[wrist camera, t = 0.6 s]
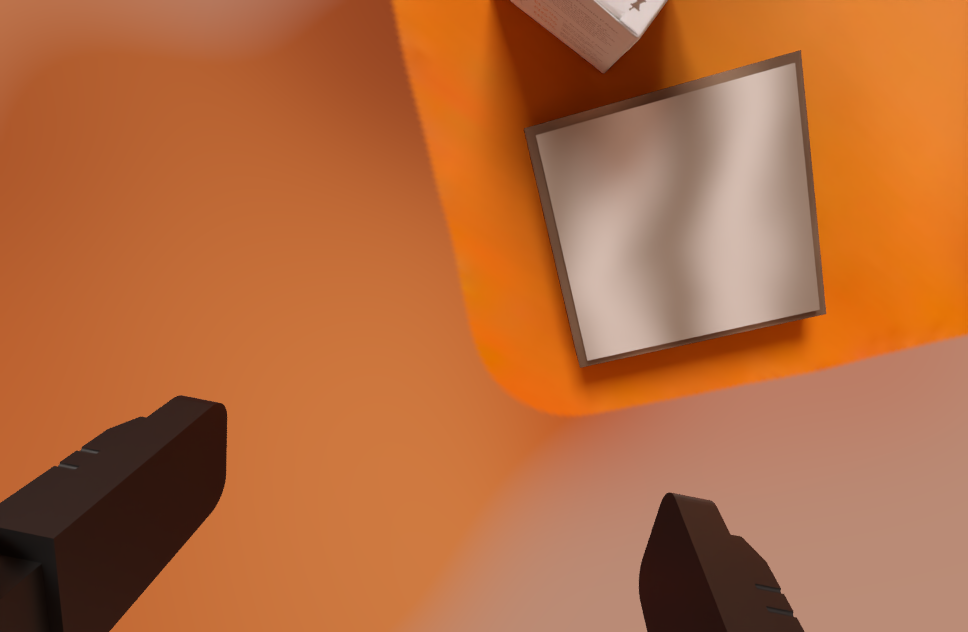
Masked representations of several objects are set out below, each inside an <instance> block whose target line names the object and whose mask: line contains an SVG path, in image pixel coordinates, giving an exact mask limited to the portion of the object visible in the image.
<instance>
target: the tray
mask: <svg viewBox="0 0 968 632" xmlns="http://www.w3.org/2000/svg"><path fill="white" fill-rule="evenodd" d="M524 132H525V136H526V140H527V145H528V149H529V153H530V158H531V162H532V166H533V170H534V175H535V179H536V183H537V188H538V192H539V196H540V200H541V205H542V209H543V213H544V217H545V222H546V226H547V230H548V235H549V239H550V243H551V247H552V252H553V256H554V260H555V264H556V269H557V273H558V277H559V282H560V286H561V290H562V294H563V299H564V303H565V307H566V311H567V316H568V320H569V324H570V329H571V333H572V337H573V341H574V346H575V350H576V354H577V358H578V361H579V365H580V368H581V367H585V366H590V365H595V364H599V363H604V362H608V361H613V360H617V359H622V358H627V357H631V356H636V355H640V354H645V353H649V352H654V351H659V350H663V349H668V348H672V347H677V346H681V345H686V344H691V343H695V342H700V341H704V340H709V339H713V338H718V337H723V336H727V335H732V334H736V333H741V332H745V331H750V330H755V329H759V328H764V327H768V326H773V325H777V324H782V323H787V322H791V321H796V320H800V319H805V318H809V317H814V316H819V315H823V314H826V307H825V297H824V286H823V276H822V265H821V255H820V245H819V234H818V224H817V214H816V203H815V193H814V183H813V172H812V162H811V152H810V141H809V131H808V121H807V110H806V100H805V90H804V79H803V69H802V59H801V50H800V51H796V52H793V53H789V54H786V55H782V56H778V57H775V58H771V59H768V60H764V61H761V62H757V63H754V64H750V65H747V66H743V67H740V68H736V69H733V70H729V71H725V72H722V73H718V74H715V75H711V76H708V77H704V78H701V79H697V80H694V81H690V82H687V83H683V84H679V85H676V86H672V87H669V88H665V89H662V90H658V91H655V92H651V93H648V94H644V95H641V96H637V97H633V98H630V99H626V100H623V101H619V102H616V103H612V104H609V105H605V106H602V107H598V108H595V109H591V110H588V111H584V112H580V113H577V114H573V115H570V116H566V117H563V118H559V119H556V120H552V121H549V122H545V123H542V124H538V125H534V126H531V127H527V128H524Z"/></svg>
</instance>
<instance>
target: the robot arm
mask: <svg viewBox="0 0 968 632" xmlns="http://www.w3.org/2000/svg"><path fill="white" fill-rule="evenodd" d="M226 444H227V411H226V409H225V406H224V405H223V404H221V403H217V402H212V401H207V400H202V399H197V398H192V397H187V396H177V397H175V398H173V399H172V400H170V401H169V402H167V403H166V404H165V405H163V406H162V407H160V408H159V409H158V410H156V411H155V412H154V413H152V414H151V415H150V416H148V417H147V418H145V417H138V418H136V419H133V420H131V421H128V422H126V423H123V424H120V425H118V426H115V427H113V428H110V429H107V430H106V431H105V432H103V433H102V434H100V435H99V436H97V437H96V438H94V439H93V440H92V441H90V442H88V443H87V444H86V445H84V446H83V447H82V449H81V451H75V452H74V453H72V454H71V455H70V456H68V457H67V458H65V459H64V460H62V461H61V462H60V465H59V466H58V467H57V466H54V467H52V468H51V469H49V470H48V471H46V472H45V473H43V474H42V475H40V476H39V477H37V478H36V479H35V480H33V481H32V482H30V483H29V484H27V485H26V486H24V487H23V488H21V489H20V490H19V491H17V492H16V493H14V494H13V495H11V496H10V497H8V498H7V499H5V500H4V501H2V502H1V503H0V632H109V631H110V630H111V629H112V628H113V627H114V625H115V624H116V623H117V622H118V621H119V620H120V618H121V617H122V616H123V615H124V614H125V612H126V611H127V610H128V609H129V608H130V607H131V606H132V604H133V603H134V602H135V601H136V600H137V599H138V597H139V596H140V595H141V594H142V593H143V592H144V590H145V589H146V588H147V587H148V586H149V585H150V583H151V582H152V581H153V580H154V579H155V578H156V577H157V575H158V574H159V573H160V572H161V571H162V569H163V568H164V567H165V566H166V565H167V564H168V562H169V561H170V560H171V559H172V558H173V557H174V556H175V554H176V553H177V552H178V550H180V549H181V547H182V546H183V545H184V544H185V543H186V542H187V540H188V539H189V538H190V537H191V536H192V535H193V533H194V532H195V531H196V530H197V529H198V528H199V526H200V525H201V524H202V523H203V522H204V521H205V519H206V518H207V517H208V516H209V514H211V512H212V511H213V510H214V508H215V507H216V505H217V503H218V501H219V499H220V497H221V494H222V492H223V489H224V484H225V479H226V448H227V445H226ZM780 590H781V588H780V586H779V584H778V583H777V581H776V579H775V577H774V575H773V573H772V572H771V570H770V568H769V566H768V564H767V562H766V561H765V560H764V559H763V558H762V557H761V556H760V555H759V554H758V553H757V552H756V551H755V550H754V549H753V548H752V547H751V546H750V545H749V544H748V543H747V542H746V541H745V540H744V539H743V538H742V537H740V536H734V535H730V533H729V531H728V529H727V527H726V525H725V523H724V521H723V519H722V517H721V515H720V513H719V511H718V508H717V506H716V505H715V503H713V502H712V501H710V500H705V499H700V498H695V497H689V496H685V495H680V494H675V493H667V494H666V495H665V496H664V497H663V499H662V502H661V504H660V507H659V510H658V514H657V516H656V519H655V522H654V525H653V528H652V532H651V535H650V538H649V541H648V544H647V547H646V550H645V553H644V556H643V559H642V563H641V567H640V574H639V595H640V601H641V606H642V610H643V615H644V619H645V623H646V628H647V632H804V630H803V628H802V627H801V625H800V623H799V621H798V619H797V618H795V617H793V610H792V608H791V606H790V604H789V603H788V601H787V599H786V597H785V596H784V594H781V592H780Z"/></svg>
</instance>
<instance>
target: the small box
mask: <svg viewBox="0 0 968 632" xmlns="http://www.w3.org/2000/svg"><path fill="white" fill-rule="evenodd" d="M510 1H511V2H512V3H514V4H515V5H516V6H517V7H519V8H520V9H521V10H522V11H524V12H525V13H526V14H528V15H529V16H530V17H531V18H533V19H534V20H535V21H537V22H538V23H539V24H540V25H542V26H543V27H544V28H546V29H547V30H548V31H549V32H551V33H552V34H553V35H555V36H556V37H557V38H558V39H560V40H561V41H562V42H563V43H565V44H566V45H567V46H569V47H570V48H571V49H573V50H574V51H575V52H576V53H578V54H579V55H580V56H582V57H583V58H584V59H585V60H587V61H588V62H589V63H590V64H592V65H593V66H594V67H595V68H597V69H598V70H599V71H600V72H601V73H605V72H606V71H607V70H608V69H609V68H610V67H611V66H612V65H613V64H614V63H615V62H616V61H617V60H618V59H619V58H620V57H621V56H623V54H625V53H626V52H627V51H628V50H629V49H630V48H631V47H632V46H633V45H634V44H635V43H636V42H637V41H638V40H639V39H640V38H641V37H642V35H643V34H644V32H645V31H646V30H647V28H648V27H649V26H650V24H651V23H652V21H653V20H654V19H655V17H656V16H657V15H658V13H659V12H660V10H661V9H662V8H663V6H664V5H665V4H666V2H667V1H668V0H510Z"/></svg>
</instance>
